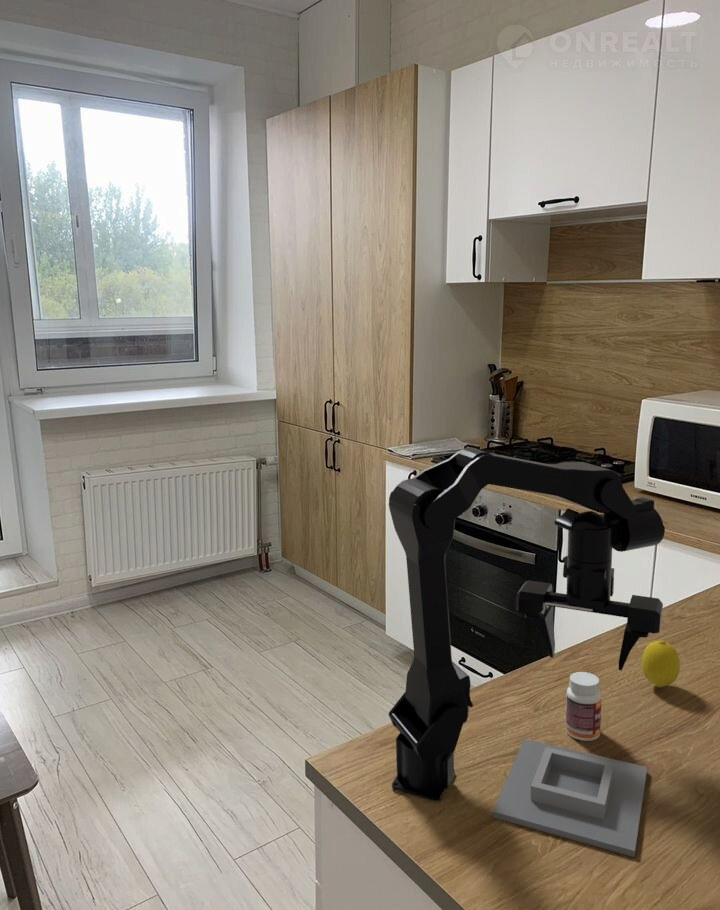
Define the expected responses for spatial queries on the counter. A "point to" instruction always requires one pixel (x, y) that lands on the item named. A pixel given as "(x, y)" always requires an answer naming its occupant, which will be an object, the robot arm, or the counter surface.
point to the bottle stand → (574, 796)
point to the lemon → (660, 663)
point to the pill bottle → (583, 707)
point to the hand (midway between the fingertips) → (585, 662)
